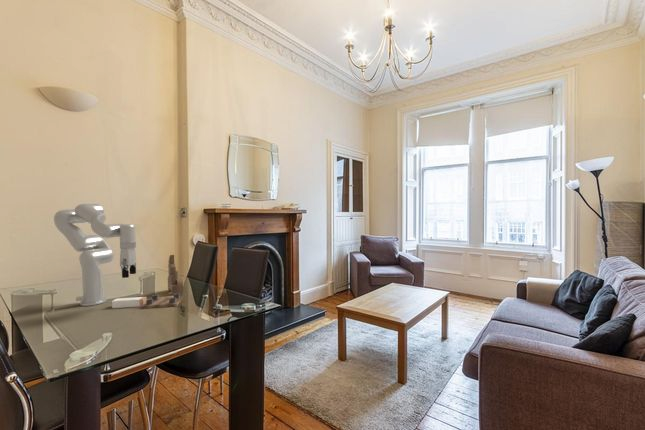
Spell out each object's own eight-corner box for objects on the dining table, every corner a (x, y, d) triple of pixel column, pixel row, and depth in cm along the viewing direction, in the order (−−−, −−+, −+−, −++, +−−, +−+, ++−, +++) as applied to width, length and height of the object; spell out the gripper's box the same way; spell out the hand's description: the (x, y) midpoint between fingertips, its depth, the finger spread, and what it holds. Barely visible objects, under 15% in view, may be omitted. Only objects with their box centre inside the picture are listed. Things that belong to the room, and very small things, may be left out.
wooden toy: (183, 293, 197) (182, 255, 197) (172, 295, 193) (171, 256, 192) (178, 288, 210) (177, 252, 209) (167, 290, 205) (166, 253, 205)
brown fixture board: (142, 308, 169) (142, 301, 169) (151, 300, 183) (151, 294, 183) (176, 306, 173) (176, 299, 173) (183, 298, 186) (183, 292, 186)
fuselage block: (112, 308, 171) (112, 301, 170) (116, 305, 175) (116, 298, 175) (143, 306, 174) (143, 299, 173) (146, 303, 178) (146, 296, 178)
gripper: (127, 244, 181) (128, 272, 182) (113, 248, 164) (114, 279, 165) (141, 243, 183) (142, 272, 183) (128, 247, 166) (130, 278, 166)
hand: (129, 275), depth 174 cm, fingers open, 9 cm apart
